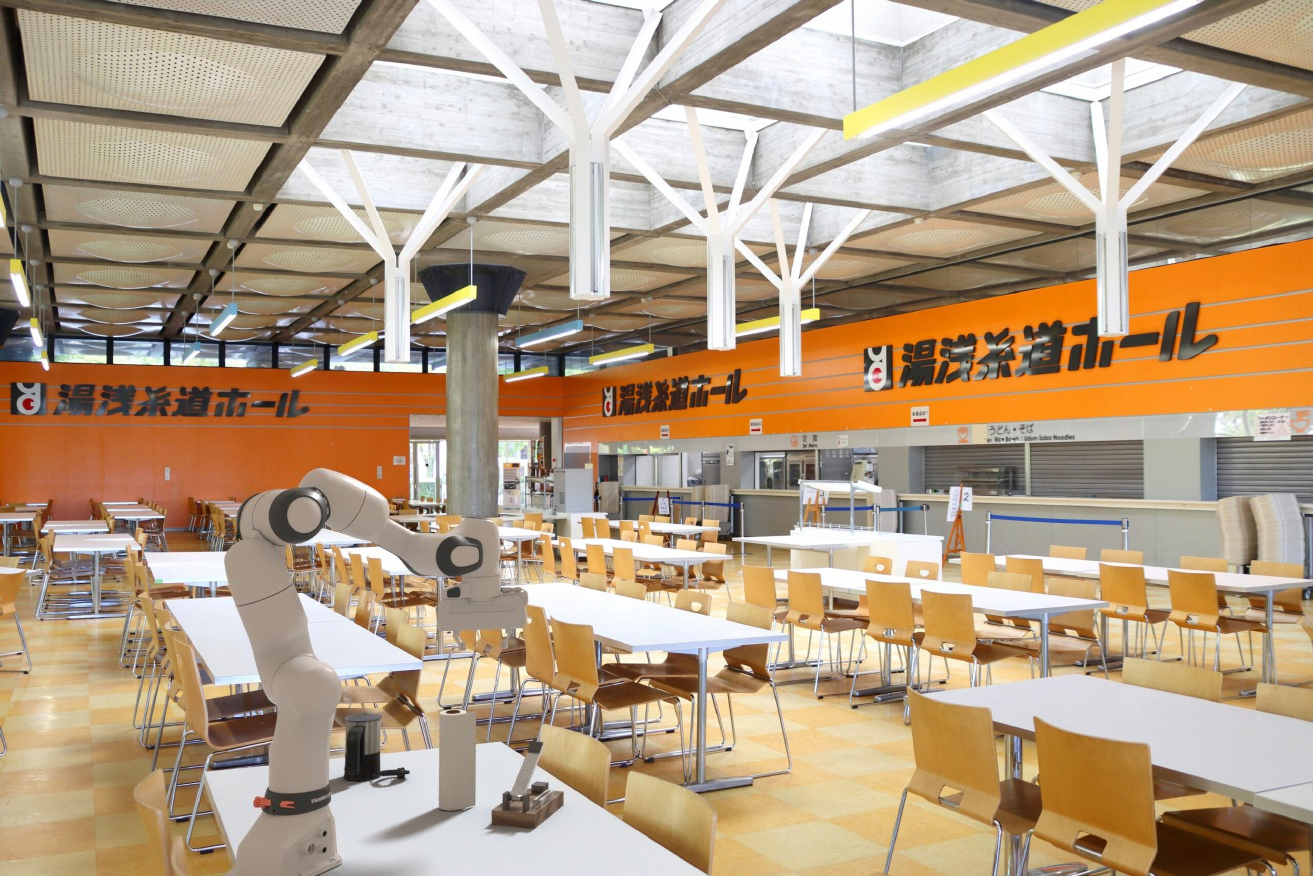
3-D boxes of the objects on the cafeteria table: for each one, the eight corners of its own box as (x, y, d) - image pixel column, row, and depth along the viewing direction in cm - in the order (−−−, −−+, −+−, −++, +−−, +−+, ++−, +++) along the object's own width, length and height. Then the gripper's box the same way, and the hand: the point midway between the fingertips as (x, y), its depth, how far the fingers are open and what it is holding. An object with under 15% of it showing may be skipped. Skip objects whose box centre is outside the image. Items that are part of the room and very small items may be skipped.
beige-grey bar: (522, 802, 217) (520, 797, 216) (509, 801, 218) (507, 796, 217) (544, 746, 230) (543, 741, 229) (532, 745, 230) (530, 740, 230)
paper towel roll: (432, 809, 228) (433, 712, 229) (450, 802, 233) (451, 707, 234) (458, 814, 224) (459, 715, 225) (475, 806, 230) (476, 710, 231)
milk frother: (343, 773, 257) (344, 714, 258) (407, 768, 262) (407, 710, 263) (343, 788, 244) (344, 726, 245) (410, 783, 249) (411, 721, 249)
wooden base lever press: (535, 828, 214) (535, 797, 215) (491, 824, 217) (491, 793, 217) (563, 804, 231) (563, 775, 231) (522, 801, 233) (523, 772, 234)
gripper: (528, 585, 234) (530, 645, 234) (439, 588, 233) (440, 649, 233) (526, 588, 228) (528, 650, 228) (434, 591, 227) (436, 653, 226)
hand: (483, 649), depth 230 cm, fingers open, 8 cm apart
